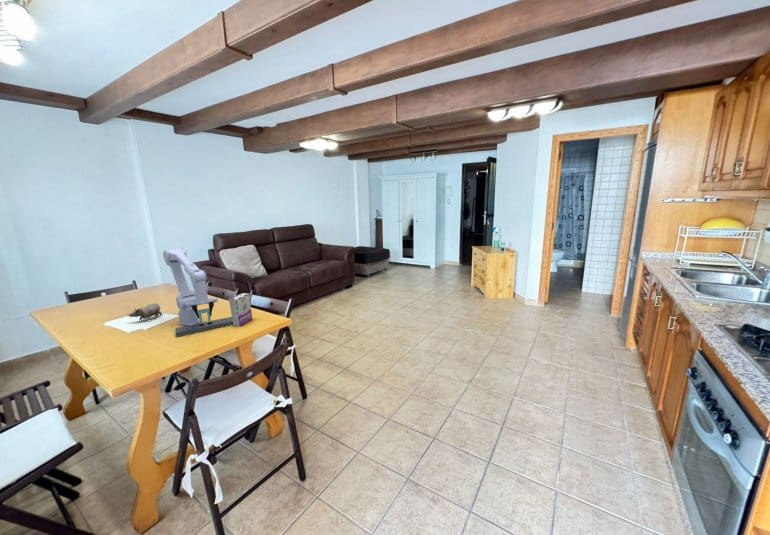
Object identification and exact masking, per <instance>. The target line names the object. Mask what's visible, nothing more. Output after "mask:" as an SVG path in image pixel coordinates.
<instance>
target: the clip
mask: <svg viewBox="0 0 770 535" xmlns="http://www.w3.org/2000/svg"><path fill="white" fill-rule="evenodd" d="M198 314H199V320H200V322H199V323H203V317H202V314H206V316H207V320H208V321H212V319H211V316H210V311H209V307H208V308H203V309H198ZM208 321H207V322H208Z"/></svg>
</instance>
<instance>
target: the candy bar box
mask: <svg viewBox="0 0 770 535" xmlns="http://www.w3.org/2000/svg"><path fill="white" fill-rule="evenodd" d="M228 301H229V307H230V313H231V314H230V315H231V317H232V321H233V325H232V326H233V327H236V326H239V328H241V327H243V326H244V325H246V324H247V323H249V322H251V321H252V320H253V314H252V307H251V300H250V293H249V292H248V293H246V292H245V293H240V294H238V295H235V296H233V297H231V298H229V299H228Z"/></svg>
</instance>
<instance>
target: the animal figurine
mask: <svg viewBox="0 0 770 535" xmlns="http://www.w3.org/2000/svg"><path fill="white" fill-rule="evenodd" d="M126 315H127V316H128V317H130V318H134V317H135V318H137V317H139V321H140V320H141V321H142V320H144V319H148V320H150V321H151V317H153V316H155V318H158V317H160V315H162V316H163V313H162V311H161V306H160V305H159V304H158V303H155V302H154V303H150V304H148V305H146V306H145V307H144V306H143V307H140V308H137V309H136V308H134V310H132V312H130V313H129V314H128V313H126Z"/></svg>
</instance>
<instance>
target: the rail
mask: <svg viewBox="0 0 770 535" xmlns="http://www.w3.org/2000/svg"><path fill="white" fill-rule="evenodd" d="M230 325H232V326H233V321H232V316H228V317H223V318H218V319H213V320H211V321H204V322H203V321H202V322H201V323H200V322H198V323H196V324H193V325H183V326H178V327H175V329H174V331H175V332H174V333H175V334H174V335H175V338H181V337H183V336H184V337H185V336H189V335H192V334H199V333H204V332H207V331H212V330H217V328H218V329H222V328H227V327H231V326H230ZM226 326H227V327H226ZM221 327H222V328H221Z"/></svg>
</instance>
